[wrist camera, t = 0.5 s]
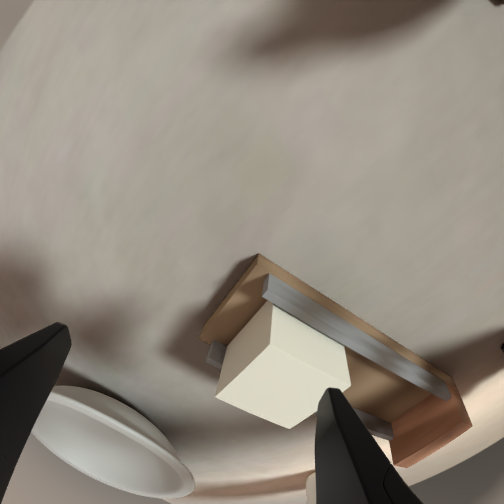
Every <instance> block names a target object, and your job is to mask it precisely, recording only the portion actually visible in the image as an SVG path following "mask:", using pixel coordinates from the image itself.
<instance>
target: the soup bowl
mask: <svg viewBox="0 0 504 504" xmlns="http://www.w3.org/2000/svg"><path fill="white" fill-rule="evenodd" d="M31 432H32V434H33V435H34V436H35V437H36V438H37V439H38V440H39V441H40V442H41V443H42V444H43V445H45V446H46V447H47V448H48V449H49V450H50V451H51V452H53V453H54V454H55V455H57V456H58V457H59V458H61V459H62V460H64V461H65V462H66V463H68V464H69V465H71V466H73V467H74V468H76V469H77V470H79V471H81V472H82V473H84V474H86V475H88V476H90V477H92V478H94V479H96V480H98V481H100V482H102V483H105V484H107V485H109V486H112V487H115V488H117V489H120V490H123V491H127V492H130V493H133V494H137V495H142V496H147V497H153V498H166V499H168V498H180V497H184V496H187V495H189V494H190V493H192V491H193V490H194V488H195V480H194V477H193V475H192V474H191V472H190V471H189V470H188V468H187V467H186V466H185V465H184V464H183V463H182V462H181V461H180V459H179V457H178V455H177V453H176V451H175V449H174V448H173V446H172V445H171V443H170V442H169V441H168V439H167V438H166V437H165V436H164V435H163V433H162V432H161V431H160V430H159V429H158V428H157V427H156V426H154V425H153V424H152V423H151V422H150V421H149V420H147V419H146V418H145V417H143V416H142V415H141V414H139V413H138V412H136V411H135V410H133V409H132V408H130V407H128V406H127V405H125V404H123V403H121V402H119V401H117V400H115V399H113V398H111V397H109V396H107V395H104V394H102V393H99V392H96V391H93V390H90V389H86V388H81V387H76V386H54V387H53V389H52V391H51V393H50V395H49V397H48V399H47V401H46V402H45V404H44V406H43V408H42V410H41V412H40V414H39V416H38V418H37V420H36V422H35V424H34V426H33V429H32V431H31Z"/></svg>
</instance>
